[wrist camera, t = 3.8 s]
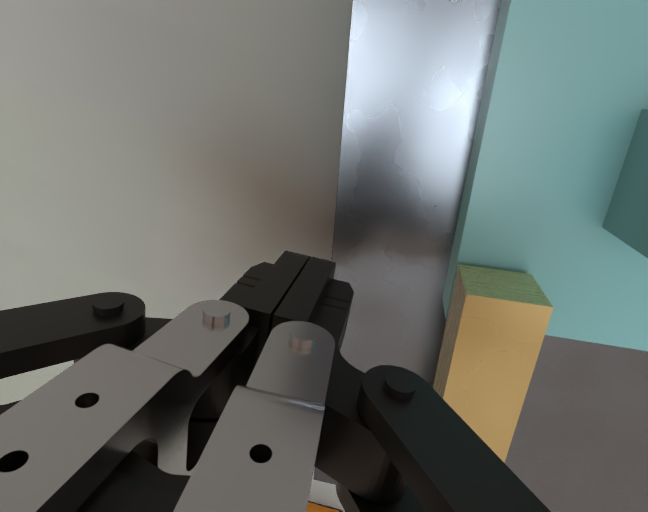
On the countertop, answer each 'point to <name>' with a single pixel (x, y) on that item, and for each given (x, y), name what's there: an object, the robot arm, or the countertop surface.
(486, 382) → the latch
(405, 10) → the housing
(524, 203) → the cover
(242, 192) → the countertop surface
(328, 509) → the supplement box
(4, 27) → the countertop surface
